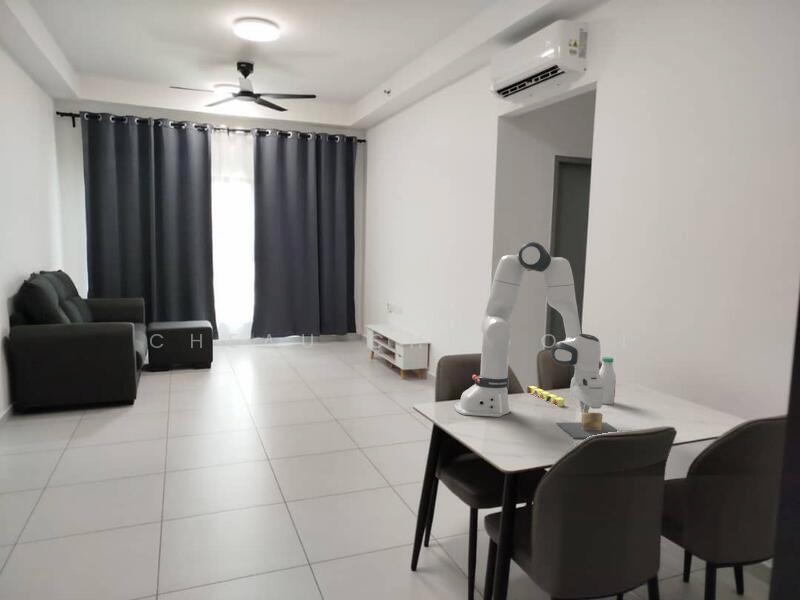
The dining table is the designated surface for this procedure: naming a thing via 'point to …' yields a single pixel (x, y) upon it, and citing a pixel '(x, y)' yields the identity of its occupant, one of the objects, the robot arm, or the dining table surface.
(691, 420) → the dining table surface
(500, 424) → the dining table surface
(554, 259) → the robot arm
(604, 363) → the milk bottle
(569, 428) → the mat
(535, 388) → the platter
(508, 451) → the dining table surface
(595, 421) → the wooden u-shaped block
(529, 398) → the dining table surface
